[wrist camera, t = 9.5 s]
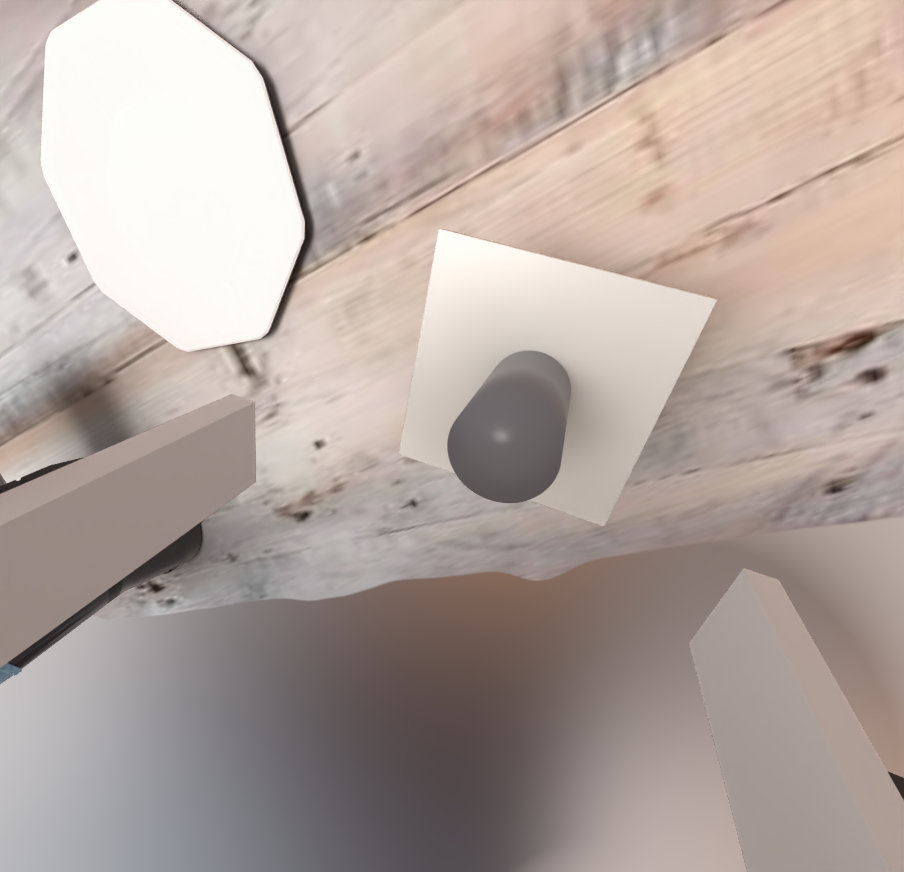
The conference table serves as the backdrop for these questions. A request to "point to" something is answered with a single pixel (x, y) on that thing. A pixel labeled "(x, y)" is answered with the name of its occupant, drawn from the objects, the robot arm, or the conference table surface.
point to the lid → (542, 373)
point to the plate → (170, 171)
